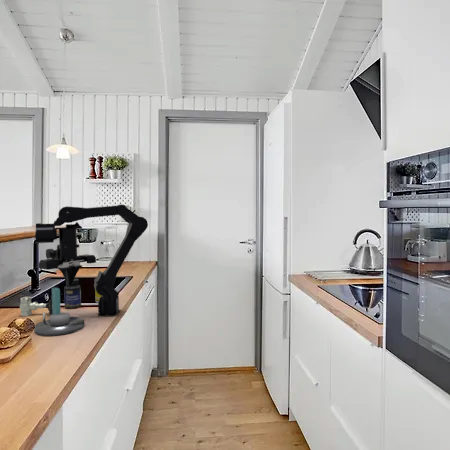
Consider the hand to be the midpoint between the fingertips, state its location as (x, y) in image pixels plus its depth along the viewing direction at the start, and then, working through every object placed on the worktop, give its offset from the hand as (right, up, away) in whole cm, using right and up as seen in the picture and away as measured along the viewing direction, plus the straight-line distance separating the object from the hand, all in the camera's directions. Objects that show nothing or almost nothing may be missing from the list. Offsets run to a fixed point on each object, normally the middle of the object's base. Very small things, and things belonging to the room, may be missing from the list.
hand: (69, 285), depth 128 cm
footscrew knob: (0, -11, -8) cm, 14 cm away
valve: (-15, -12, +7) cm, 20 cm away
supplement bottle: (+3, -11, +25) cm, 27 cm away
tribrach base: (+1, -12, -9) cm, 16 cm away
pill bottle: (-6, -12, +17) cm, 21 cm away
